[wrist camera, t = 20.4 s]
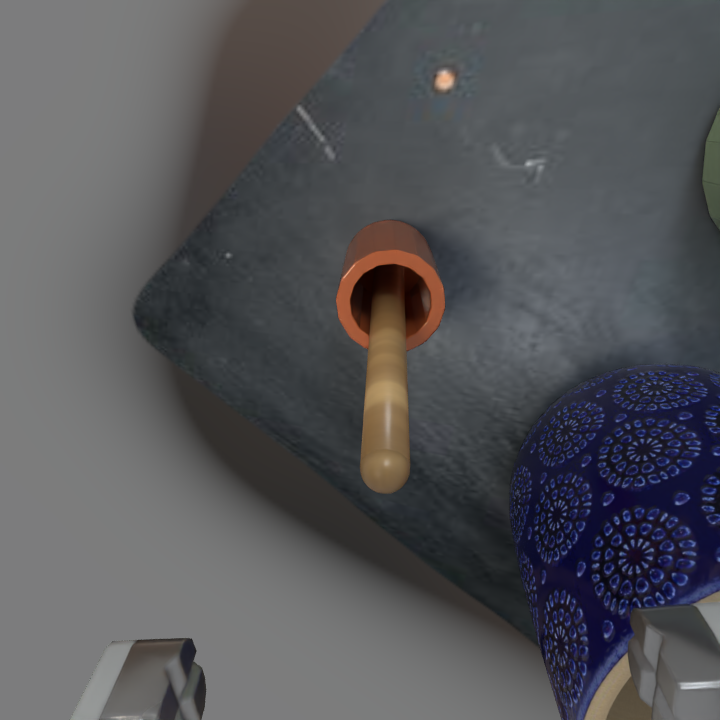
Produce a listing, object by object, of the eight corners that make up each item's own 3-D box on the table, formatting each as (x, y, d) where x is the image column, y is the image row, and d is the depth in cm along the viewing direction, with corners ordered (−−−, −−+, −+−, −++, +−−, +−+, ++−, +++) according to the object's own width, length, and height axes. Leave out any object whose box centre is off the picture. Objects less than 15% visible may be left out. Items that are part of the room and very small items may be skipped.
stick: (373, 251, 36) (356, 468, 20) (402, 248, 36) (409, 466, 20) (375, 278, 37) (361, 505, 21) (404, 276, 37) (411, 503, 21)
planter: (604, 592, 47) (755, 921, 28) (434, 460, 43) (477, 746, 24) (813, 442, 41) (1180, 731, 22) (640, 271, 37) (914, 452, 18)
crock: (339, 225, 36) (329, 257, 29) (428, 214, 36) (441, 244, 28) (350, 309, 38) (344, 358, 31) (435, 300, 38) (448, 348, 31)
